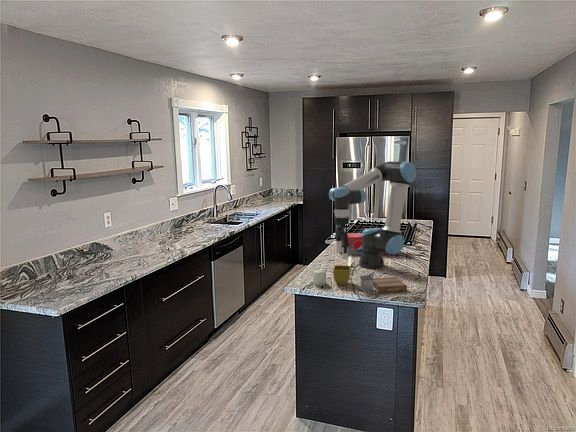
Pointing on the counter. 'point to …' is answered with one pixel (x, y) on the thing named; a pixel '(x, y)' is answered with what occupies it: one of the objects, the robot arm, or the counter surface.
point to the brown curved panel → (389, 285)
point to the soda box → (359, 245)
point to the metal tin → (366, 283)
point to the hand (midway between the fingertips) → (341, 255)
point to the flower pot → (341, 274)
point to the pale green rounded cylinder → (319, 277)
